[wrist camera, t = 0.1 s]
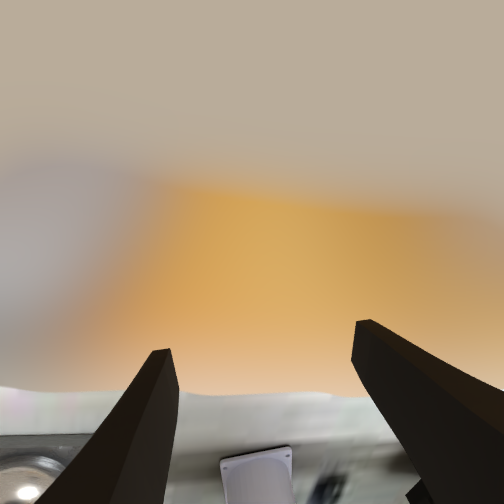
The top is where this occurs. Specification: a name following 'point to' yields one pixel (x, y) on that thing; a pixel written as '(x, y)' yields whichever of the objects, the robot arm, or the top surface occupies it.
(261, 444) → the top surface
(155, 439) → the robot arm
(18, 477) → the silver metal slab
